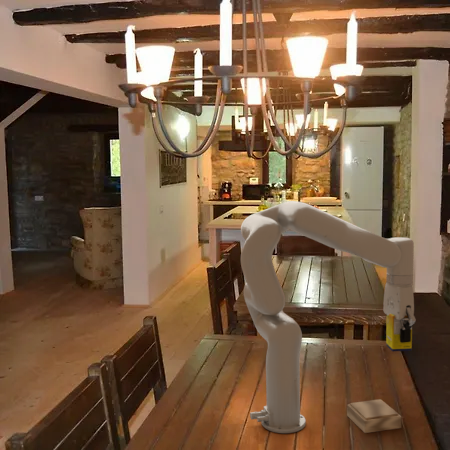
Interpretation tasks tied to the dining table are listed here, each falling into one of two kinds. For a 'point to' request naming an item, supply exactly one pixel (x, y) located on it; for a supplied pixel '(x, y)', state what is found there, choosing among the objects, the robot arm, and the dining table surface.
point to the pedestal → (373, 416)
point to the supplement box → (396, 335)
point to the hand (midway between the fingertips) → (398, 337)
